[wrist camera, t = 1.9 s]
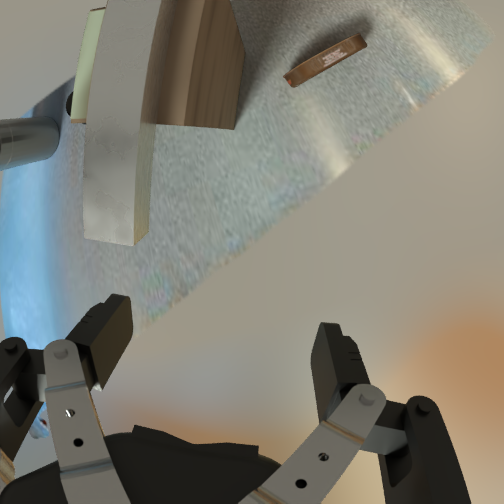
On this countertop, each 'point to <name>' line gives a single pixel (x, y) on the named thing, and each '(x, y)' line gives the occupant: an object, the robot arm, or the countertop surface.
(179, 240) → the countertop surface
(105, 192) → the steel bar
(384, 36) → the countertop surface
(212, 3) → the walnut stand
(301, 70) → the tin
